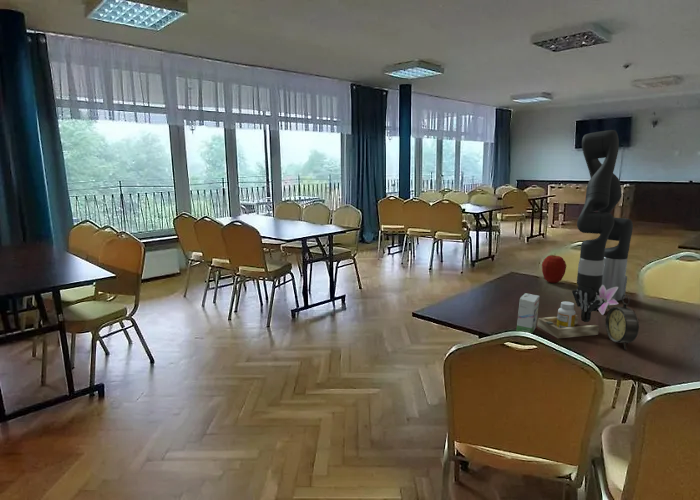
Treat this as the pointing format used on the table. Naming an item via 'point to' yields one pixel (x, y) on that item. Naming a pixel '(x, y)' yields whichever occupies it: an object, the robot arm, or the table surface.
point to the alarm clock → (622, 324)
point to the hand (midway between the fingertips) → (585, 321)
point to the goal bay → (566, 328)
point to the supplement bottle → (566, 315)
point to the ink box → (528, 313)
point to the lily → (607, 298)
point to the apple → (553, 268)
